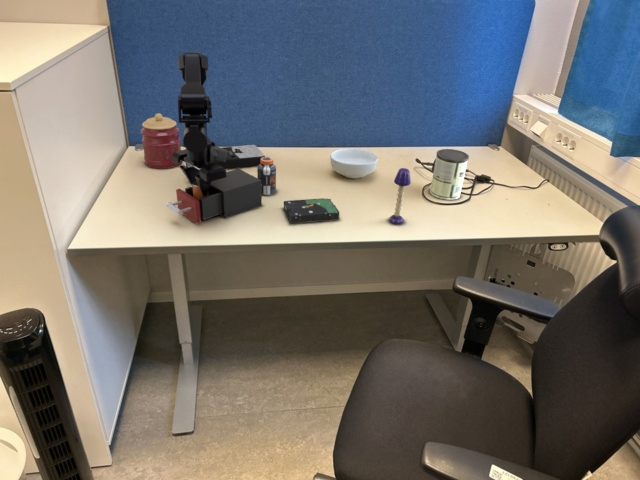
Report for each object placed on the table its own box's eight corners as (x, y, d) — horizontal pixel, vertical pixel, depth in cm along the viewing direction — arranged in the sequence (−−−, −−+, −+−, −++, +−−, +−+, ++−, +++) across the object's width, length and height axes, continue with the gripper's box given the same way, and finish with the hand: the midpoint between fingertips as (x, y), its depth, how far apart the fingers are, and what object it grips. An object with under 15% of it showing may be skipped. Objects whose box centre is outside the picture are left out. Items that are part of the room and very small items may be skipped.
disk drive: (290, 225, 134) (339, 220, 138) (290, 216, 133) (340, 211, 137) (282, 208, 143) (329, 204, 147) (283, 200, 142) (329, 196, 145)
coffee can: (433, 185, 165) (440, 146, 158) (462, 191, 162) (471, 152, 155) (426, 195, 157) (433, 155, 150) (456, 202, 154) (466, 162, 147)
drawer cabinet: (224, 218, 135) (223, 191, 131) (203, 204, 142) (201, 178, 138) (261, 205, 144) (261, 180, 140) (239, 193, 151) (238, 168, 146)
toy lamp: (406, 225, 138) (415, 172, 130) (392, 226, 137) (400, 173, 129) (399, 217, 142) (407, 165, 134) (385, 218, 141) (393, 166, 133)
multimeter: (206, 158, 175) (205, 145, 173) (255, 153, 182) (255, 141, 180) (213, 171, 165) (212, 157, 162) (266, 165, 172) (266, 152, 169)
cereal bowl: (365, 164, 179) (367, 146, 175) (383, 181, 166) (386, 162, 162) (323, 167, 174) (324, 149, 170) (338, 185, 160) (340, 165, 157)
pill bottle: (272, 196, 150) (273, 163, 144) (255, 194, 151) (254, 160, 145) (278, 189, 155) (278, 156, 149) (260, 186, 156) (260, 154, 150)
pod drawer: (183, 228, 127) (181, 206, 124) (164, 214, 133) (161, 193, 130) (234, 211, 138) (233, 190, 134) (214, 199, 144) (213, 179, 140)
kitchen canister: (167, 153, 177) (161, 106, 168) (190, 162, 171) (186, 113, 162) (137, 162, 168) (130, 113, 159) (160, 172, 161) (154, 121, 152)
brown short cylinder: (204, 201, 131) (203, 187, 129) (190, 198, 132) (189, 184, 130) (211, 195, 135) (210, 181, 133) (197, 192, 136) (196, 179, 134)
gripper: (242, 143, 124) (243, 196, 132) (203, 125, 136) (207, 176, 143) (205, 152, 117) (209, 207, 125) (168, 132, 129) (174, 184, 137)
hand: (200, 193), depth 133 cm, fingers closed on brown short cylinder, 4 cm apart
